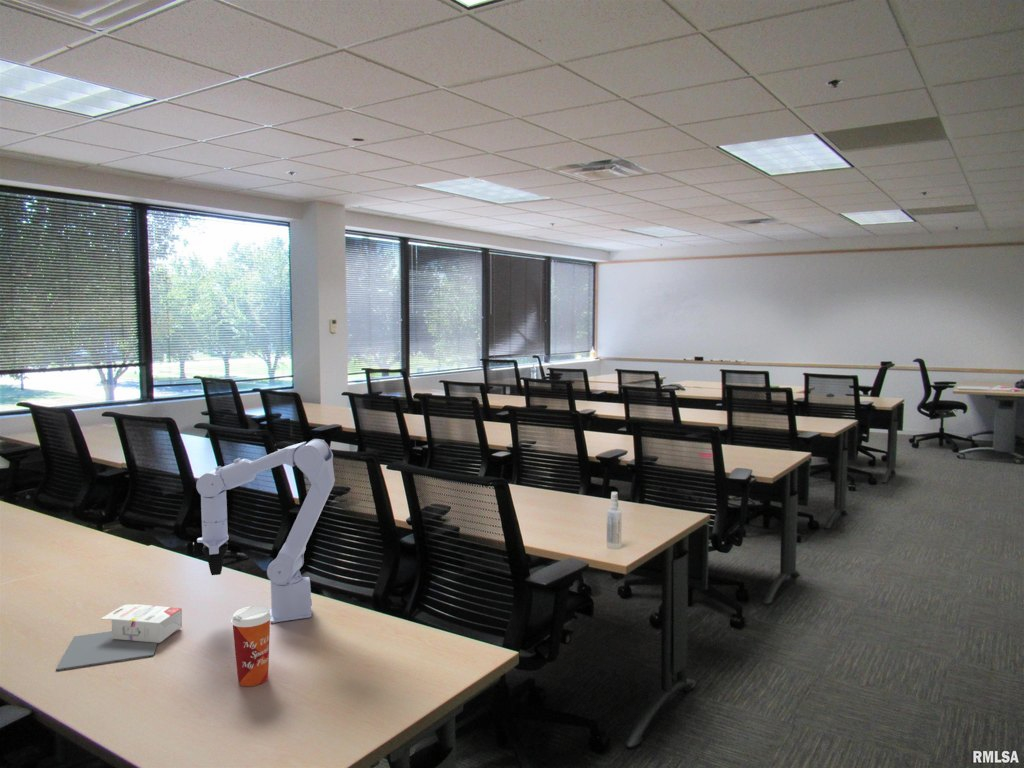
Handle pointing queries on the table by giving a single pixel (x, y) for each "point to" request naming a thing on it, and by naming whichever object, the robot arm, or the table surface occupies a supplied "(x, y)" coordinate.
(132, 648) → the mat
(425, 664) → the table surface
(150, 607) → the ink cartridge box
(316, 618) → the table surface
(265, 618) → the paper cup
